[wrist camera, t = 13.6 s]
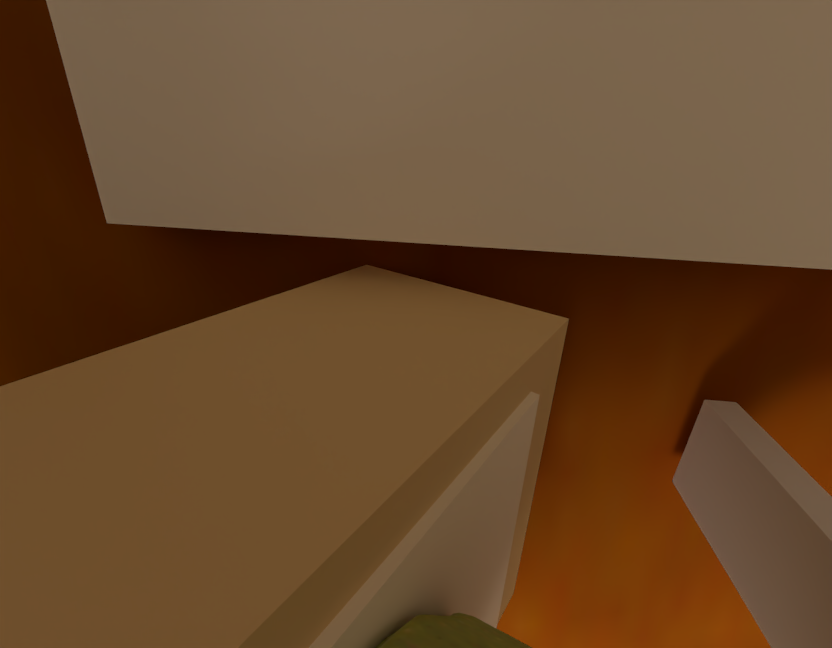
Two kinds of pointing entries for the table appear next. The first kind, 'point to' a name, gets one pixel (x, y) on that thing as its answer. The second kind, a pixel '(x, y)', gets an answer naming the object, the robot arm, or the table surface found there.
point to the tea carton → (278, 472)
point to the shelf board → (466, 121)
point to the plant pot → (449, 634)
